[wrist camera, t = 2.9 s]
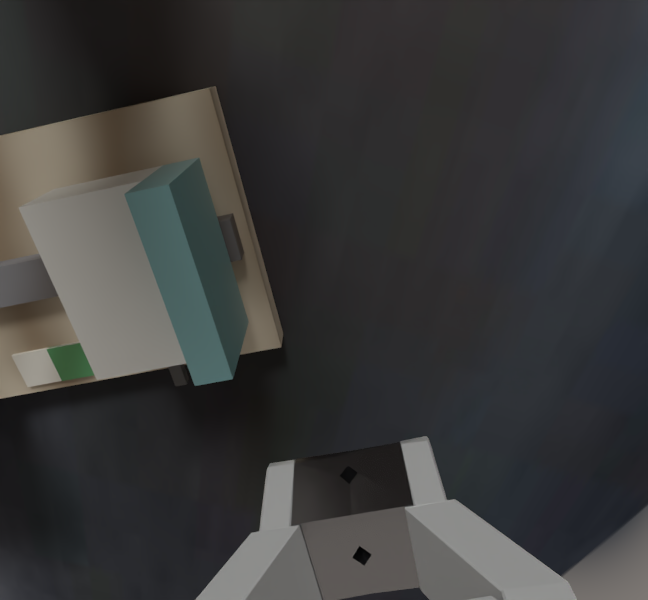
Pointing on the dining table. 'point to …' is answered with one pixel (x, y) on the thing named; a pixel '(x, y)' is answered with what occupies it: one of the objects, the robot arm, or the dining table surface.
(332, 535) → the robot arm
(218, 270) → the block with teal panel
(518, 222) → the dining table surface
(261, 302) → the frame
